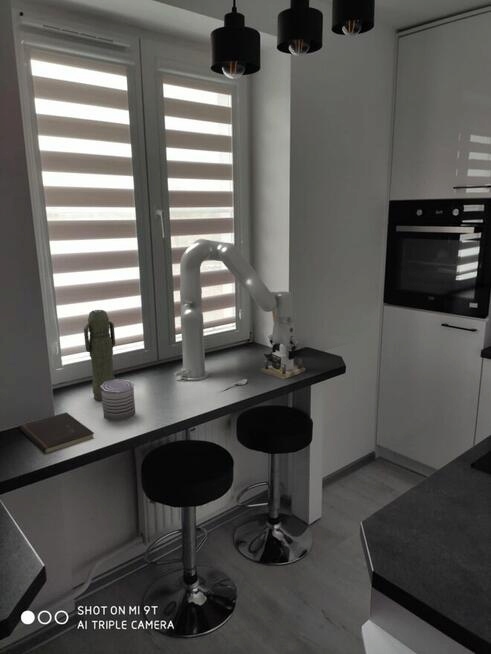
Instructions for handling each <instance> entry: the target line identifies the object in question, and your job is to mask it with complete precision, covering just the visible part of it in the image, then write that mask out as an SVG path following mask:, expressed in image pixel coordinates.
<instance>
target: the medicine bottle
mask: <svg viewBox="0 0 491 654" xmlns="http://www.w3.org/2000/svg"><path fill="white" fill-rule="evenodd" d="M288 352H289V348H288V347H287V346H284V345H282V344H279V343H277V344H276V352H274V353H272V360H271V365H272V368H274V369H276V370H278V371H281V372H282V365H283V364H285V365H286V370H291V369H293V365H294V359H291V360H289V359H288Z"/></svg>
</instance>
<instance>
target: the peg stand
mask: <svg viewBox="0 0 491 654" xmlns="http://www.w3.org/2000/svg"><path fill="white" fill-rule="evenodd" d="M302 361H303V360H302V358H301V359H300V358H298V359H297V365H296V364H293V369H291V370H286V365H285V364H283V365H282V372H281V371H278V370H276V369H274V368H272V364H271V365H269V359H267V358H266V359H264V367H262V368H260V369H261V372H262V373H265V374H267V375H271V376H274V377H277V378H280V379H284V380H285V379H288V378H290V377H293V376H295V375H299V374H301V372H302V373H304V372H306V367H304V366H302V365H303V363H302Z"/></svg>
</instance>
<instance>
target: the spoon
mask: <svg viewBox="0 0 491 654" xmlns="http://www.w3.org/2000/svg"><path fill="white" fill-rule="evenodd" d="M247 383H248V379H247V378H244V379H241V380H238V381H236V382H234V383H231V384H230V385H227V386H225V387H223V388H222V389H219V390H217V391H216V392H215V393H216V394H219V393H222V392H225V391H226V390H227V389H230V388H231V387H232V386H234V385H238V386H244V385H245V384H247Z"/></svg>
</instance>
